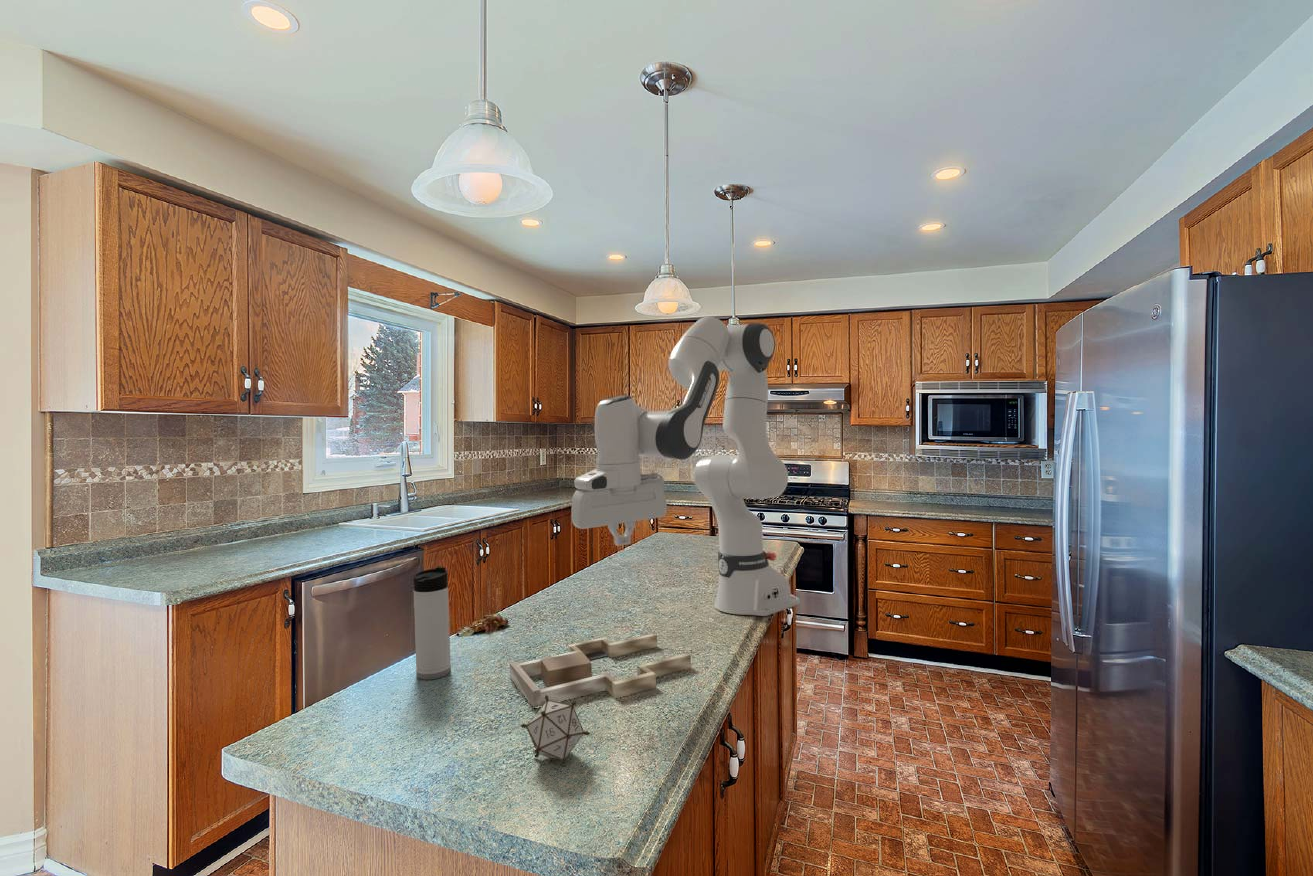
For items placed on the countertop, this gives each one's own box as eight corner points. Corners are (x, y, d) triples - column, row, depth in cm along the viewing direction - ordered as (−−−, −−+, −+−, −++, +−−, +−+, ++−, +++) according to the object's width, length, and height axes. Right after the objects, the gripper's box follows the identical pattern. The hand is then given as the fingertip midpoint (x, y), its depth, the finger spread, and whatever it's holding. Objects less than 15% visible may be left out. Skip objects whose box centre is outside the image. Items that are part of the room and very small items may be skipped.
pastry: (452, 634, 138) (451, 619, 138) (496, 621, 147) (496, 607, 147) (467, 641, 133) (467, 626, 133) (512, 627, 142) (512, 613, 142)
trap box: (645, 639, 130) (645, 625, 130) (702, 675, 111) (702, 659, 111) (504, 671, 115) (503, 656, 115) (541, 719, 95) (541, 700, 95)
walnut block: (582, 672, 114) (582, 651, 114) (592, 684, 109) (591, 662, 108) (541, 680, 111) (540, 659, 111) (549, 693, 105) (548, 671, 105)
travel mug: (458, 668, 117) (455, 567, 117) (436, 681, 111) (432, 575, 110) (432, 664, 119) (429, 565, 119) (409, 678, 113) (405, 573, 113)
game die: (546, 779, 85) (528, 708, 90) (601, 754, 86) (580, 685, 91) (526, 781, 77) (507, 703, 82) (586, 753, 78) (564, 678, 83)
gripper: (655, 471, 127) (658, 534, 128) (566, 480, 117) (570, 549, 118) (671, 472, 122) (674, 539, 122) (578, 483, 112) (582, 555, 112)
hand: (622, 544), depth 120 cm, fingers closed
